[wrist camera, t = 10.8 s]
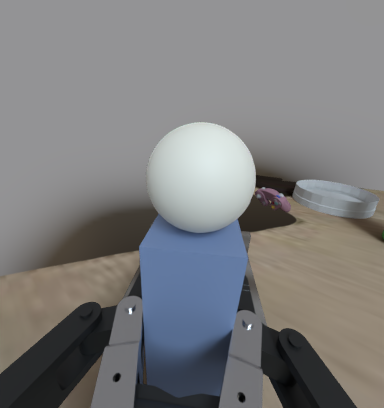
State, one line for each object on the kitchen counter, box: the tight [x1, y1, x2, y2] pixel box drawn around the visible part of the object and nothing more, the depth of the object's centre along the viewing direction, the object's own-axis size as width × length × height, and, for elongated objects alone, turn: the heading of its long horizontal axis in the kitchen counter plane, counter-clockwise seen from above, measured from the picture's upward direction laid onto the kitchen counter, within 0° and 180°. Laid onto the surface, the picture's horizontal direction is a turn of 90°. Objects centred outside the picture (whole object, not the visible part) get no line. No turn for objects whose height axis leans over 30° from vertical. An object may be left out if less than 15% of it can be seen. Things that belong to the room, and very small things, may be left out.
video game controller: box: [255, 187, 291, 212], centre depth 55 cm, size 10×5×7 cm, turn 32°
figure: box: [139, 122, 256, 398], centre depth 11 cm, size 4×4×20 cm
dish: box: [293, 180, 379, 218], centre depth 62 cm, size 22×22×5 cm
